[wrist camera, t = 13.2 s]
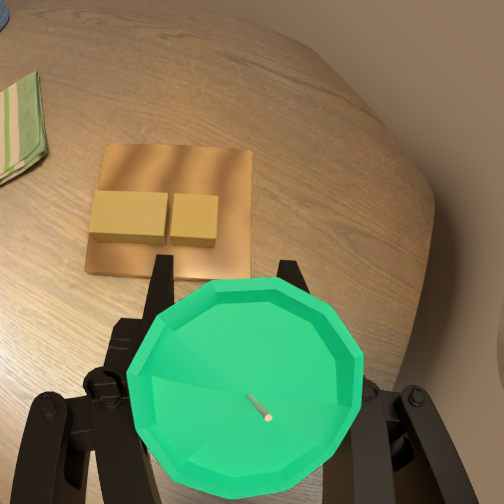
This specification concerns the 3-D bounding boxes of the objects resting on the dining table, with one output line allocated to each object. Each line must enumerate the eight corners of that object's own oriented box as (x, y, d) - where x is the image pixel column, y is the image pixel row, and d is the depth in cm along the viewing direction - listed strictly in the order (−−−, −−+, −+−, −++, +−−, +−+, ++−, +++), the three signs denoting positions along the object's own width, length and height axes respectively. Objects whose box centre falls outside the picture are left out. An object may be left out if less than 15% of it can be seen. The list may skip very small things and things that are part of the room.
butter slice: (216, 207, 30) (218, 195, 27) (214, 247, 29) (216, 238, 26) (175, 205, 29) (173, 192, 26) (172, 245, 28) (169, 236, 25)
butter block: (170, 205, 29) (168, 192, 26) (166, 245, 28) (163, 236, 25) (103, 202, 28) (94, 190, 25) (97, 241, 27) (87, 232, 24)
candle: (251, 291, 18) (352, 227, 6) (283, 386, 17) (417, 458, 5) (151, 321, 16) (67, 311, 5) (186, 419, 15) (181, 556, 4)
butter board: (249, 157, 34) (252, 150, 32) (248, 283, 30) (250, 280, 29) (110, 150, 31) (107, 143, 29) (89, 274, 27) (84, 271, 26)
